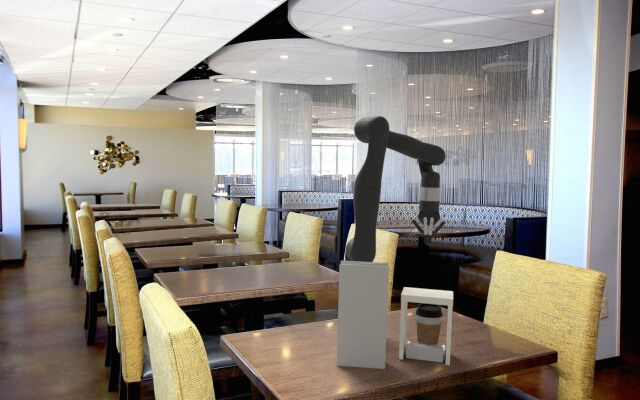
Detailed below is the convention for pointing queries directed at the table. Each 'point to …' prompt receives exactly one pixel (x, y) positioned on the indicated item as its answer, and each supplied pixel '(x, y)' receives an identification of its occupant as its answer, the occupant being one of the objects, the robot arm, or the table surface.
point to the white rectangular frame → (410, 349)
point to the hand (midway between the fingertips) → (427, 244)
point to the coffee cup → (428, 324)
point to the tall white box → (362, 314)
